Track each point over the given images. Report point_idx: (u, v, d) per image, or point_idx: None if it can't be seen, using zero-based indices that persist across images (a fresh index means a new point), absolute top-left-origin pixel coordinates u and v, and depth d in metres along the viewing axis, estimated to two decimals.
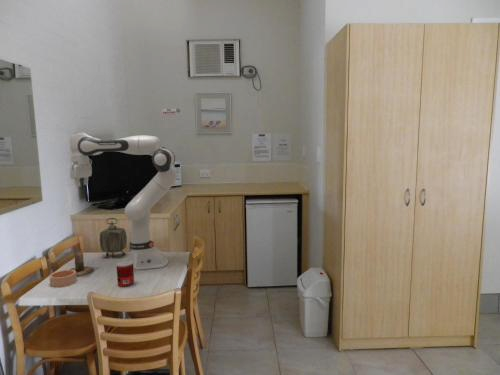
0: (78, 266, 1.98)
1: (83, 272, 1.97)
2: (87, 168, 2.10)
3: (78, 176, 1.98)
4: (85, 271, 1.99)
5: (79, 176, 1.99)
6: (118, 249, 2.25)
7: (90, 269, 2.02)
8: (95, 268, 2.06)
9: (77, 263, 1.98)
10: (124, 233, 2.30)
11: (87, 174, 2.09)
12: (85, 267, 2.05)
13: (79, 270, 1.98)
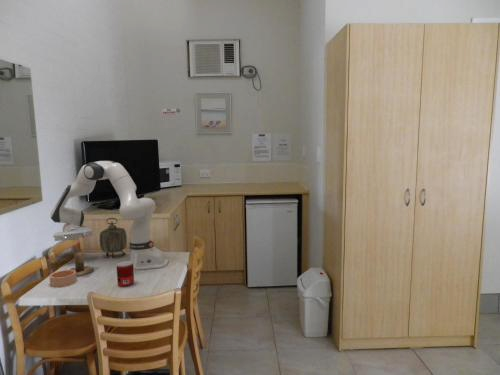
0: (78, 266, 1.98)
1: (83, 272, 1.97)
2: (82, 230, 2.19)
3: (58, 234, 2.09)
4: (85, 271, 1.99)
5: (60, 234, 2.10)
6: (118, 249, 2.25)
7: (90, 269, 2.02)
8: (95, 268, 2.06)
9: (77, 263, 1.98)
10: (124, 233, 2.30)
11: (80, 231, 2.16)
12: (85, 267, 2.05)
13: (79, 270, 1.98)
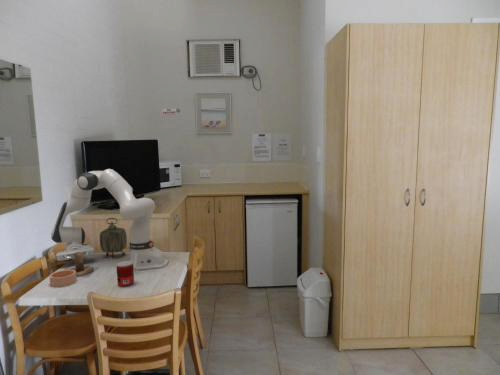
0: (78, 266, 1.98)
1: (83, 272, 1.97)
2: None
3: (61, 254, 2.07)
4: (85, 271, 1.99)
5: (63, 253, 2.08)
6: (118, 249, 2.25)
7: (90, 269, 2.02)
8: (95, 268, 2.06)
9: (77, 263, 1.98)
10: (124, 233, 2.30)
11: (83, 250, 2.14)
12: (85, 267, 2.05)
13: (79, 270, 1.98)
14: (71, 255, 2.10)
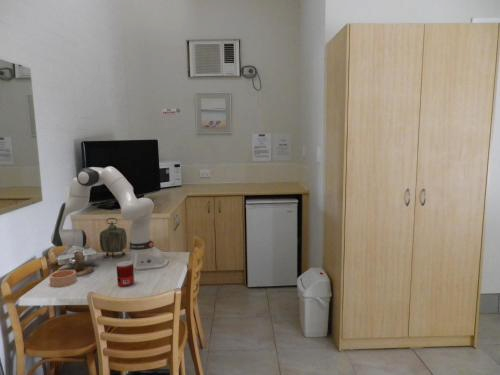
0: (78, 266, 1.98)
1: (83, 272, 1.97)
2: (87, 252, 2.10)
3: (62, 257, 2.00)
4: (85, 271, 1.99)
5: (64, 257, 2.00)
6: (118, 249, 2.25)
7: (90, 269, 2.02)
8: (95, 268, 2.06)
9: (77, 263, 1.98)
10: (124, 233, 2.30)
11: (85, 254, 2.06)
12: (85, 267, 2.05)
13: (79, 270, 1.98)
14: (73, 259, 2.02)
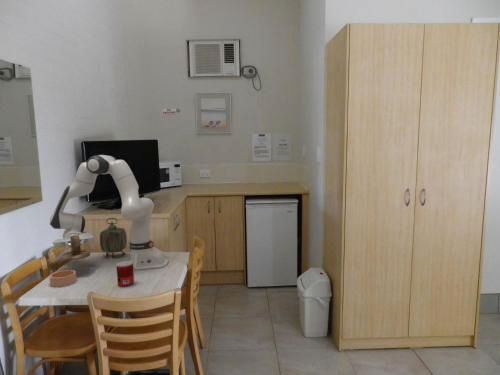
0: (74, 250, 1.95)
1: (79, 256, 1.94)
2: (83, 236, 2.06)
3: (58, 241, 1.96)
4: (81, 255, 1.96)
5: (60, 241, 1.97)
6: (118, 249, 2.25)
7: (87, 253, 1.99)
8: (95, 268, 2.06)
9: (73, 246, 1.95)
10: (124, 233, 2.30)
11: (81, 238, 2.03)
12: (82, 251, 2.02)
13: (75, 254, 1.95)
14: (69, 243, 1.99)
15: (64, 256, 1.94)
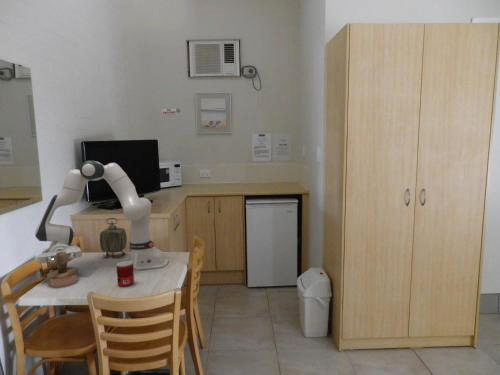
0: (60, 267, 1.83)
1: (66, 274, 1.82)
2: (70, 250, 1.94)
3: (43, 255, 1.84)
4: (68, 273, 1.83)
5: (45, 255, 1.85)
6: (118, 249, 2.25)
7: (74, 270, 1.86)
8: (95, 268, 2.06)
9: (59, 264, 1.82)
10: (124, 233, 2.30)
11: (68, 251, 1.90)
12: (69, 268, 1.90)
13: (62, 272, 1.83)
14: (55, 257, 1.87)
15: (49, 274, 1.82)
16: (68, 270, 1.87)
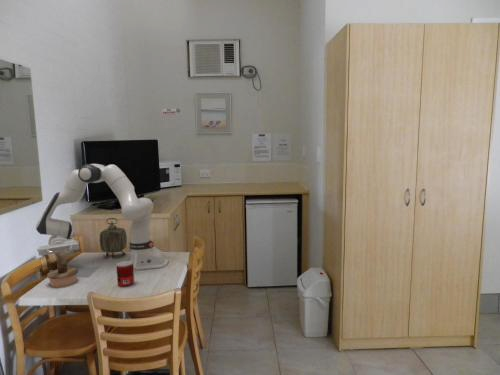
0: (60, 267, 1.83)
1: (66, 274, 1.82)
2: None
3: (42, 248, 1.95)
4: (68, 273, 1.83)
5: (45, 248, 1.96)
6: (118, 249, 2.25)
7: (74, 270, 1.86)
8: (95, 268, 2.06)
9: (59, 264, 1.82)
10: (124, 233, 2.30)
11: (66, 244, 2.02)
12: (69, 268, 1.90)
13: (62, 272, 1.83)
14: (54, 249, 1.98)
15: (49, 274, 1.82)
16: (68, 270, 1.87)
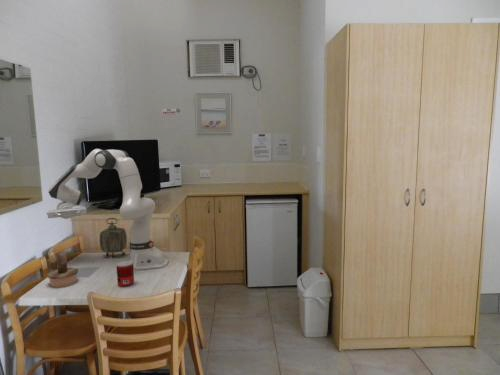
0: (60, 267, 1.83)
1: (66, 274, 1.82)
2: (76, 208, 2.13)
3: (51, 211, 2.03)
4: (68, 273, 1.83)
5: (54, 211, 2.04)
6: (118, 249, 2.25)
7: (74, 270, 1.86)
8: (95, 268, 2.06)
9: (59, 264, 1.82)
10: (124, 233, 2.30)
11: (74, 209, 2.10)
12: (69, 268, 1.90)
13: (62, 272, 1.83)
14: (62, 213, 2.06)
15: (49, 274, 1.82)
16: (68, 270, 1.87)
